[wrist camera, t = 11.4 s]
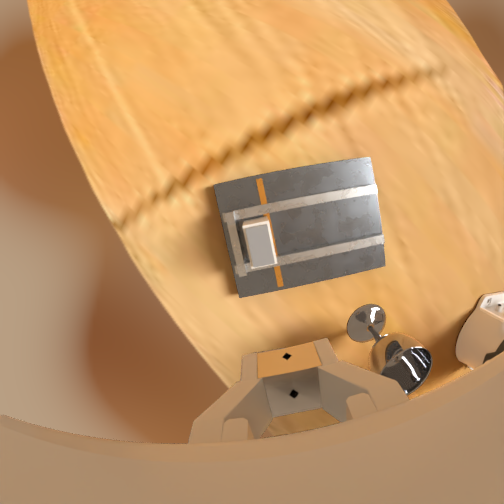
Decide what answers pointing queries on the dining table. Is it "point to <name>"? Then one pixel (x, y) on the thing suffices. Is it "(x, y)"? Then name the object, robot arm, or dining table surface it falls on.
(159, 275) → the dining table surface
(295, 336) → the dining table surface
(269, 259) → the fader tab
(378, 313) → the wine glass
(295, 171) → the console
